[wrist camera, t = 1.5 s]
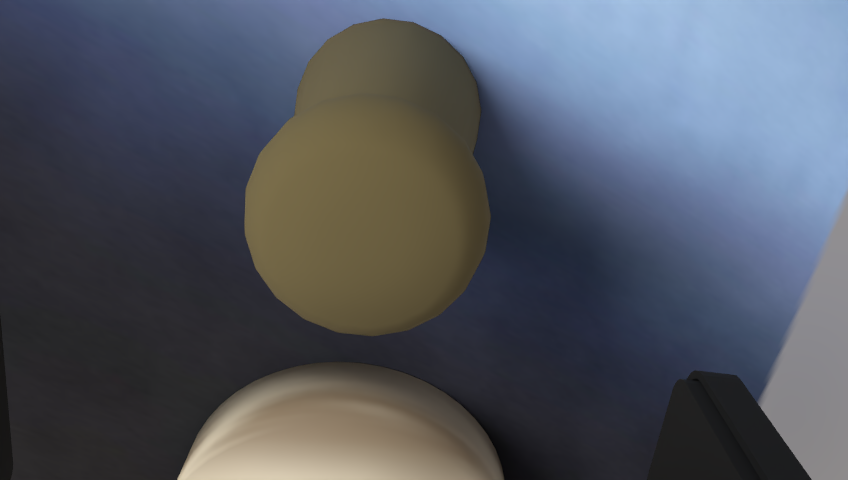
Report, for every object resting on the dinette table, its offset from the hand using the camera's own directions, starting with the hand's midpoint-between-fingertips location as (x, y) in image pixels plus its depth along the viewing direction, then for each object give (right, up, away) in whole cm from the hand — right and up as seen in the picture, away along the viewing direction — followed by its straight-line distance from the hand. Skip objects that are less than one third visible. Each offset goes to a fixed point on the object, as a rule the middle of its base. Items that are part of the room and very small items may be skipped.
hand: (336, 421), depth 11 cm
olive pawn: (0, +7, +14) cm, 16 cm away
